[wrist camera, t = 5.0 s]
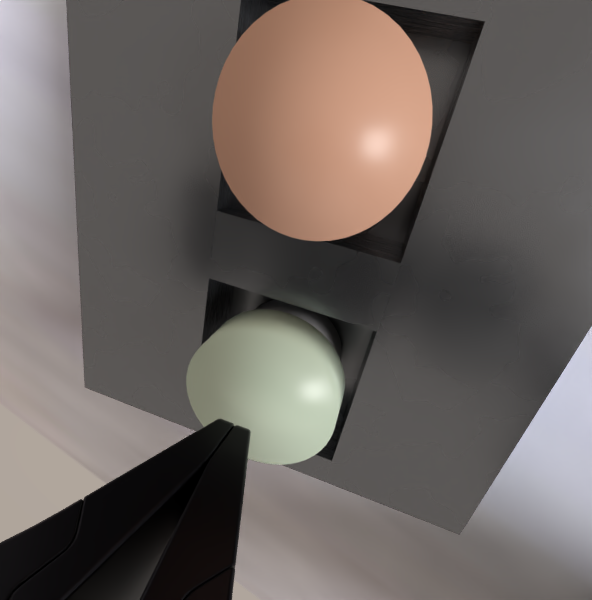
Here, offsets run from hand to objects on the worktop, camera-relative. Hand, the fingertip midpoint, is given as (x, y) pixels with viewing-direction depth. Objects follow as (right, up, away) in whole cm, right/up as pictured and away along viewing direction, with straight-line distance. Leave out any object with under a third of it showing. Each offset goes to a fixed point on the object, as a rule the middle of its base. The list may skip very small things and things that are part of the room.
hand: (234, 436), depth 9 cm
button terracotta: (+3, +8, +1) cm, 8 cm away
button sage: (+1, +2, +4) cm, 5 cm away
